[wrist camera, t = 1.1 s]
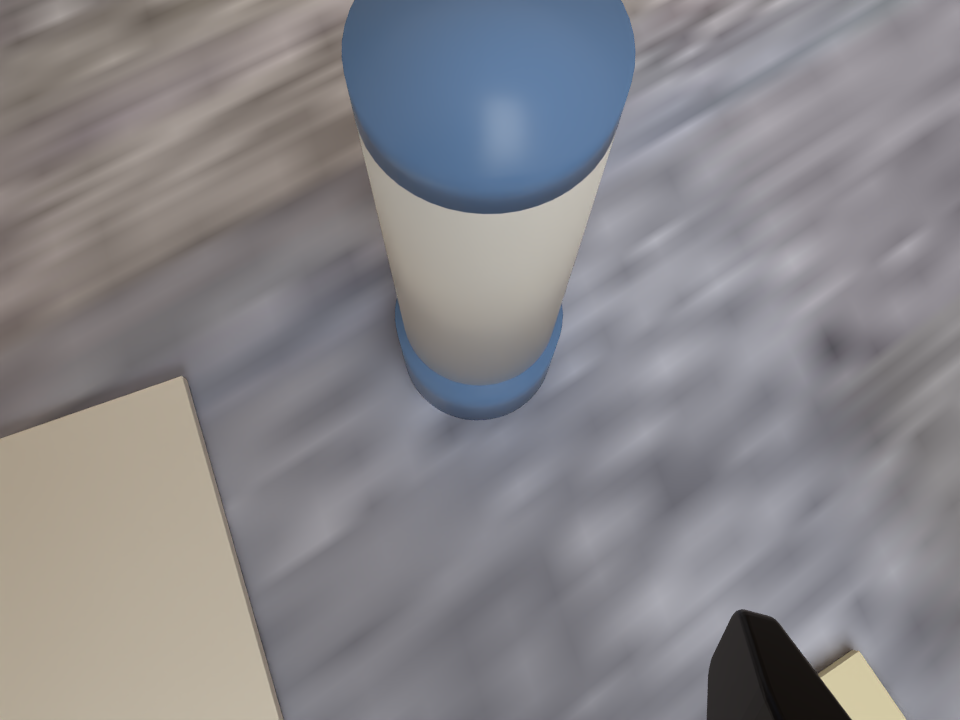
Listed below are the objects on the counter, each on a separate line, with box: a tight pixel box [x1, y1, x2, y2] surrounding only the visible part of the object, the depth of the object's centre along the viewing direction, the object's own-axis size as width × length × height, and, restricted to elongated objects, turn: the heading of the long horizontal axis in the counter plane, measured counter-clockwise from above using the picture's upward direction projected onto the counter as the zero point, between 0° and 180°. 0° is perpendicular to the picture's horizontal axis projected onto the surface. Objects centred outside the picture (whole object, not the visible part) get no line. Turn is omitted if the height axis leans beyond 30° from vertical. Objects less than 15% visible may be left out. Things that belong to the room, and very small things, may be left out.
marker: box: [342, 0, 635, 420], centre depth 16 cm, size 4×4×13 cm
